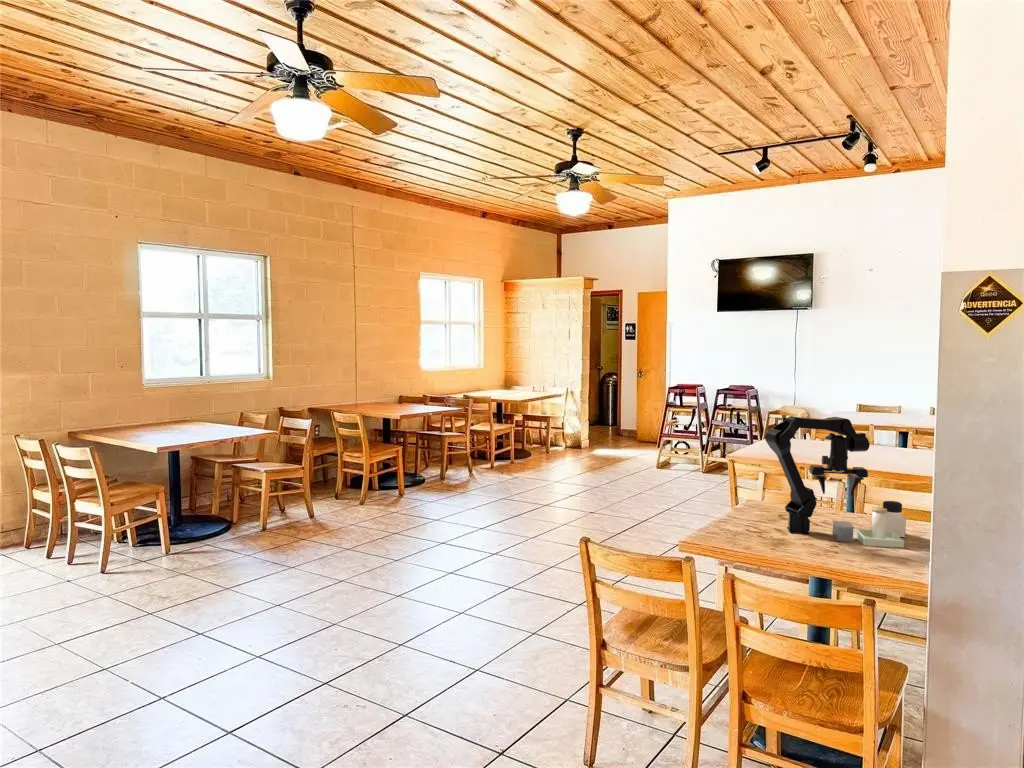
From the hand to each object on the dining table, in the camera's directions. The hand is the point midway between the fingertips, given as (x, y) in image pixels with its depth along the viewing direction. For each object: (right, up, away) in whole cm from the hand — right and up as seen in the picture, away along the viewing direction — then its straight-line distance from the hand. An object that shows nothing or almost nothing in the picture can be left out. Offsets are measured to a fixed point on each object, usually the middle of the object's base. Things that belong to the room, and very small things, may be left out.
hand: (837, 494), depth 260 cm
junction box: (-3, -14, -11) cm, 18 cm away
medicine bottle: (+17, -14, -5) cm, 22 cm away
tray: (+8, -14, -14) cm, 21 cm away
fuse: (+8, -14, -14) cm, 21 cm away
